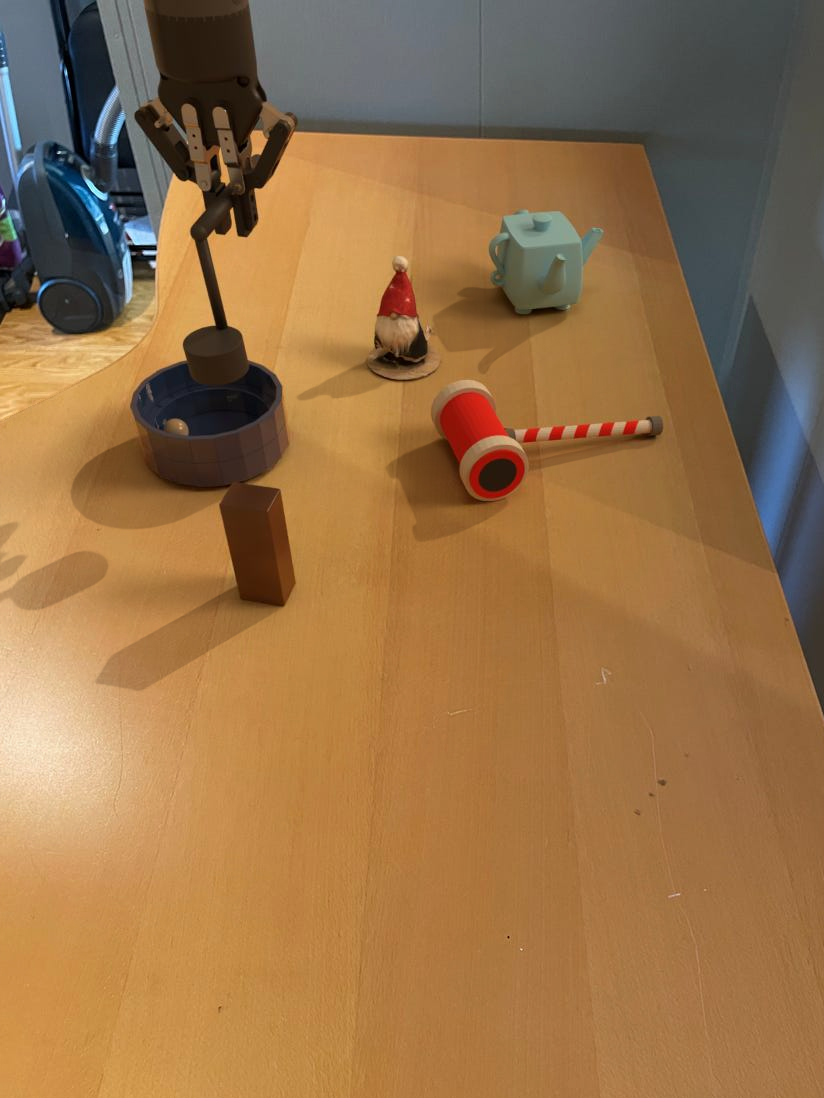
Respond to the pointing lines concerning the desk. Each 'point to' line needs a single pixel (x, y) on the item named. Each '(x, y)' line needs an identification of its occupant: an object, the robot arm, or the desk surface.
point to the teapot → (541, 260)
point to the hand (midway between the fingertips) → (234, 231)
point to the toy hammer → (504, 438)
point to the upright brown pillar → (258, 542)
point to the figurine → (401, 332)
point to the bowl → (211, 425)
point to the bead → (176, 427)
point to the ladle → (215, 310)
